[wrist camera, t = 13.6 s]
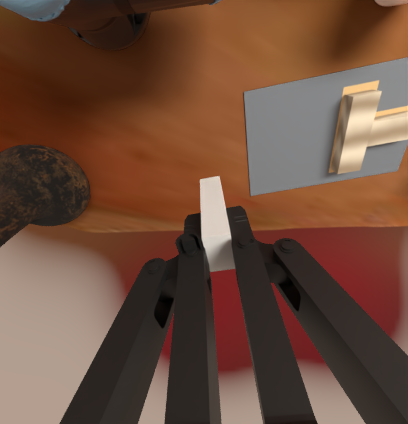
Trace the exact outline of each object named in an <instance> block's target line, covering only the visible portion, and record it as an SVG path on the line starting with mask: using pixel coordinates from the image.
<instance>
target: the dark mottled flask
mask: <svg viewBox="0 0 408 424" xmlns="http://www.w3.org/2000/svg"><path fill="white" fill-rule="evenodd" d="M89 199H90V186H89V182H88V179H87V177H86V175H85V173H84V172H83V170H82V169H81V167H80V166H79V165H78V164H77V163H76V162H75V161H74V160H73V159H71V158H70V157H68V156H67V155H65V154H64V153H62V152H60V151H58V150H55V149H53V148H50V147H46V146H41V145H19V146H14V147H11V148H8V149H6V150H4V151H2V152H1V153H0V247H1V246H2V245H3V244H5V243H6V242H7V241H8V240H9V239H10V238H11V237H13V236H14V235H15V234H16V233H18V232H19V231H20V230H21V229H23V228H24V227H25V226H27V225H28V224H29V223H30V224H35V225H41V226H56V225H61V224H65V223H68V222H70V221H72V220H74V219H75V218H77V217H78V216H79V215H80V214H81V213H82V212H83V211H84V210H85V208H86V207H87V204H88V202H89Z"/></svg>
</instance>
